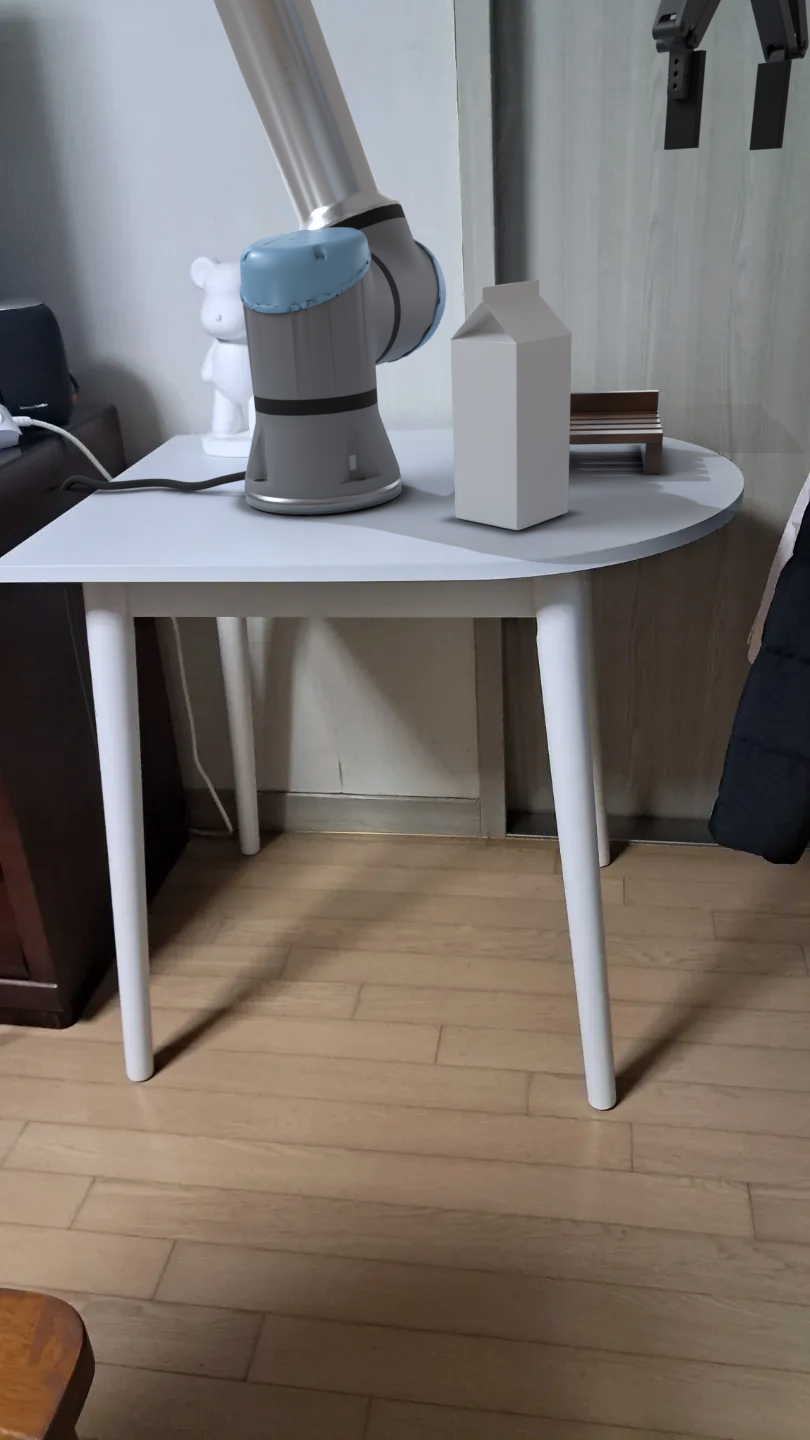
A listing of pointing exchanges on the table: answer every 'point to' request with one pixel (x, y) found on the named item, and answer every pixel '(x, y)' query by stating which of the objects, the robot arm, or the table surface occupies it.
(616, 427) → the wooden bench
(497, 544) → the table surface
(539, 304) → the milk carton
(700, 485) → the table surface
